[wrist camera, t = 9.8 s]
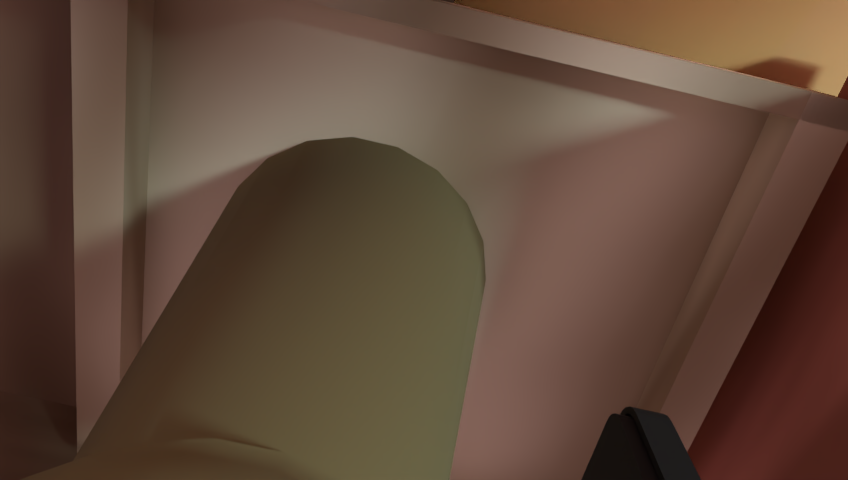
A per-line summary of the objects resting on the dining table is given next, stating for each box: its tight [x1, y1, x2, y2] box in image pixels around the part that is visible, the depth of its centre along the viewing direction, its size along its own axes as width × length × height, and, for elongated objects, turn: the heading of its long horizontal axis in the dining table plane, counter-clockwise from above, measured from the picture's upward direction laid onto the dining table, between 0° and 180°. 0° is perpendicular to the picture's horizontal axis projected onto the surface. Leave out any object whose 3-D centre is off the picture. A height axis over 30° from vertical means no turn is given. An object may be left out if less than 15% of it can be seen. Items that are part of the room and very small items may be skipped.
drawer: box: [71, 0, 848, 480], centre depth 11 cm, size 16×14×8 cm
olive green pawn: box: [20, 137, 486, 480], centre depth 8 cm, size 6×6×11 cm
